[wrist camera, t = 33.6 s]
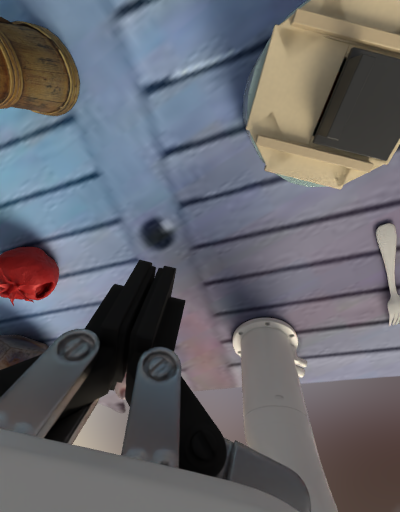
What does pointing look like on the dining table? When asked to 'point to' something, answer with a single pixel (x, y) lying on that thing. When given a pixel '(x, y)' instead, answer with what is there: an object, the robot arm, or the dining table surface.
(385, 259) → the fork
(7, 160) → the dining table surface
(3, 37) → the wooden mug
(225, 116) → the dining table surface
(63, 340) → the robot arm
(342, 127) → the slider
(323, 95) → the lid
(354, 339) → the dining table surface
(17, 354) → the planter
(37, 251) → the pomegranate
